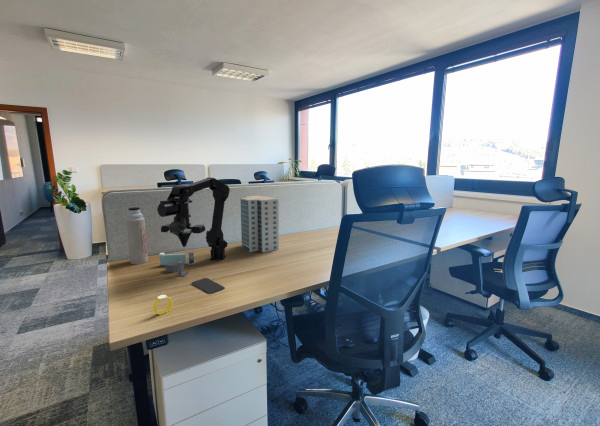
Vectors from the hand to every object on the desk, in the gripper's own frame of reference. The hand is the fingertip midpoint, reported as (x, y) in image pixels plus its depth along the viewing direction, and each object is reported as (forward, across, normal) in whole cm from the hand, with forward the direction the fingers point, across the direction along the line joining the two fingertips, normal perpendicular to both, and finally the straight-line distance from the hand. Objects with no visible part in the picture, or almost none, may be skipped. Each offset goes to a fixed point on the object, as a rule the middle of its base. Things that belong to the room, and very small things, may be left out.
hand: (184, 246), depth 132 cm
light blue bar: (+12, -10, +7) cm, 17 cm away
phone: (+12, +17, -14) cm, 26 cm away
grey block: (+12, 0, -4) cm, 13 cm away
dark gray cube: (+12, -7, 0) cm, 14 cm away
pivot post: (+12, -2, +10) cm, 15 cm away
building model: (+12, +24, +41) cm, 49 cm away
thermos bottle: (+12, -30, +9) cm, 34 cm away
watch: (+12, +11, -36) cm, 40 cm away
